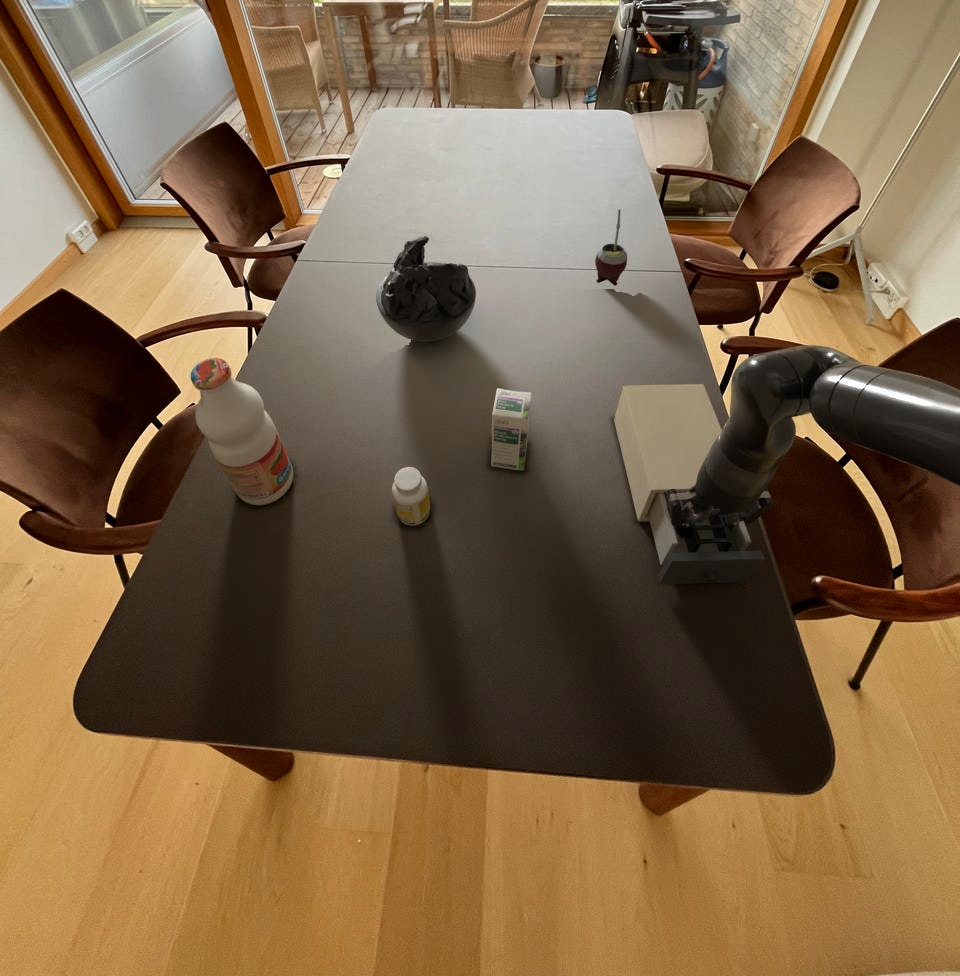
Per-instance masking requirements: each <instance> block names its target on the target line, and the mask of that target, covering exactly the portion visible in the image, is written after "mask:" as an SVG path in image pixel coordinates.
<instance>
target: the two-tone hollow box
mask: <svg viewBox="0 0 960 976" xmlns="http://www.w3.org/2000/svg"><path fill="white" fill-rule="evenodd" d="M677 493H686V492H677ZM647 513H648V517H649V521H648V522H649V524H650V528H651V533H652V536H653V540H654V544H655V549H656V551H657V555H658V559H659V563H660V566H662V567H661V569H660V571H659V573H658V575H657V581H658V585H688V584H689V585H691V584H692V585H693V584H722V583H725V584H727V583H747V581H748V580H749V579H750V578H751V576H752V575H753V574H754V572H755V571H756V570H757V569H758V568H759V566H760V565H761V564H762V563H763V562H764V560H765V555H764V554H763V551H762V550H746V549H747V548H748V547H749V545H750V544H751V543H752V540H751V537H750V534H749V532H748V529H747V527H746V523H745V522H744V521H741V522H739V523H740V524H739V525H737V526H734V528H733V529H732V531H731V532H730V535H731V538H732V541H733V544H732V545H731V547H730V548H729V549H728V551H727V552H719V549H718V546H717V543H713V544H701V545H700V547H699V548H698V550H697V551H696V552H691V553H689V552H688V549H687V545H686V542H685V539H684V538H680V535H677V532H676V528H675V526H673V525H672V524H671V519H670V516H669V512H668V510H667V492H665V493H656V494H655V496H654V498H653V501H652V503H651V505H650V508H649V510H648V512H647ZM695 525H710V522H709V519H708V518H707V519H706V520H705V521H703V522H702V523H700V522H696V523H695ZM697 532H698V535H699V538H700V539H715V537H714V534H713V531H712V530H697Z"/></svg>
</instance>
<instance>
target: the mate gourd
mask: <svg viewBox="0 0 960 976" xmlns="http://www.w3.org/2000/svg"><path fill="white" fill-rule="evenodd" d="M621 211H622V210H621V209H618V210H617V222H616V225H615V228H616V229H615V236H614V237H615V238H614V243H607V244H604V245H602V246H601V247H600V248H599V249H598V251H597V253H596V255H595V260H594V264H595V269H596V271H597V272H596V273H597V279H596V283H597V284H600V283H603V282H605V281H608V282H609V283H611V284H612V285H613V286H618V284H619V283H618V280H619V279H620V276H621V275H622V274H623V273H624V271H625V270H626V267H627V264H628V253H627V251H626V249H625V248H624V247H623V246H622V245H619V244H618V239H619V232H620V229H621Z"/></svg>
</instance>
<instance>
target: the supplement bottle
mask: <svg viewBox="0 0 960 976" xmlns="http://www.w3.org/2000/svg"><path fill="white" fill-rule="evenodd" d="M391 494H392V499H393V503H394V506H395V512H396V514H397V517H398V519H399V521H401V522H402V523H403V524H405V525H407V526H418V525H421V524H422V523H424V522H425V521H426V520H427V519H428V518H429V516H430V512H431V502H430V496H429V495H430V494H429V488H428V484H427V481H426V479H425V478H424V477H423V476H422V475H421V472H420V471H419V470H418V469H417V468H415V467H412V466H406V467H403V468H400V469H399V470H398V471H397V472H396V474H395V475H394V481H393V484H392V487H391Z"/></svg>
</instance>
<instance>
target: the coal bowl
mask: <svg viewBox="0 0 960 976" xmlns="http://www.w3.org/2000/svg"><path fill="white" fill-rule="evenodd" d="M429 241H430V238H429V236H427V235H420V236H418V237H417V238H413V239H409V240H407V241H406V242H405V243H404V245H403V249H402V250H401V251H400V252H399V253H398V255H397V257H396V259H395V261H394V263H393V265H392V267H391V269H390V272H389V274H387V275H386V276H385V277H384V278H383V279H382V280H381V282H380V283H379V285H378V288H377V290H376V293H375V302H376V306H377V308H378V311H379V313H380V315H381V318H382V319H383V320H384V321H385V323H386V324H387V325H388V326H389V327H390V328H391V329H392V331H394V332H396V334H397V335H400V336H402V337H404V338H406V339H408V340H411V341H415V342H421V343H431V342H437V341H441V340H444V339H446V338H449V337H451V336H453V335H454V334H455V333H457V332H458V331H459V330H460V329H461V328H462V327H463V326H464V325H465V324H466V323H467V321H468V320H469V318H470V316H471V315H472V313H473V310H474V307H475V304H476V299H477V290H476V286H475V283H474V281H473V279H472V278H471V276H470V274H469V269H468V268H469V267H468V266H467V265H465V264H463V263H452V262H448V263H446V262H438V261H425V257H426V256H425V255H426V253H425V252H426V248H425V246H426V244H428V243H429Z"/></svg>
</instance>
